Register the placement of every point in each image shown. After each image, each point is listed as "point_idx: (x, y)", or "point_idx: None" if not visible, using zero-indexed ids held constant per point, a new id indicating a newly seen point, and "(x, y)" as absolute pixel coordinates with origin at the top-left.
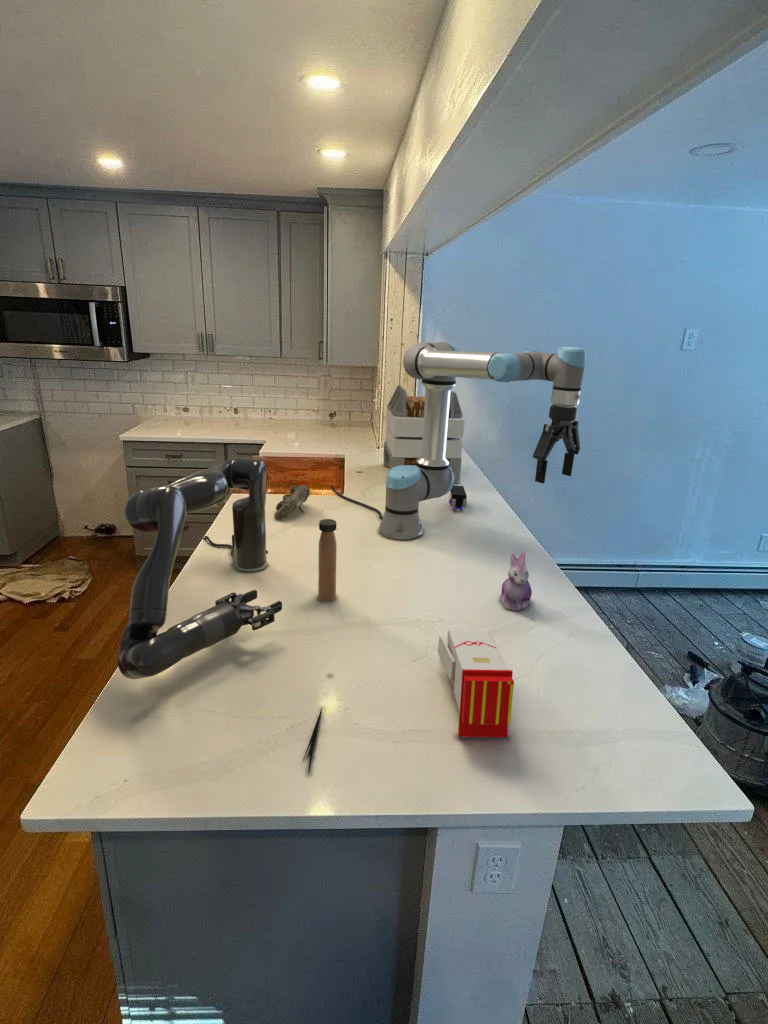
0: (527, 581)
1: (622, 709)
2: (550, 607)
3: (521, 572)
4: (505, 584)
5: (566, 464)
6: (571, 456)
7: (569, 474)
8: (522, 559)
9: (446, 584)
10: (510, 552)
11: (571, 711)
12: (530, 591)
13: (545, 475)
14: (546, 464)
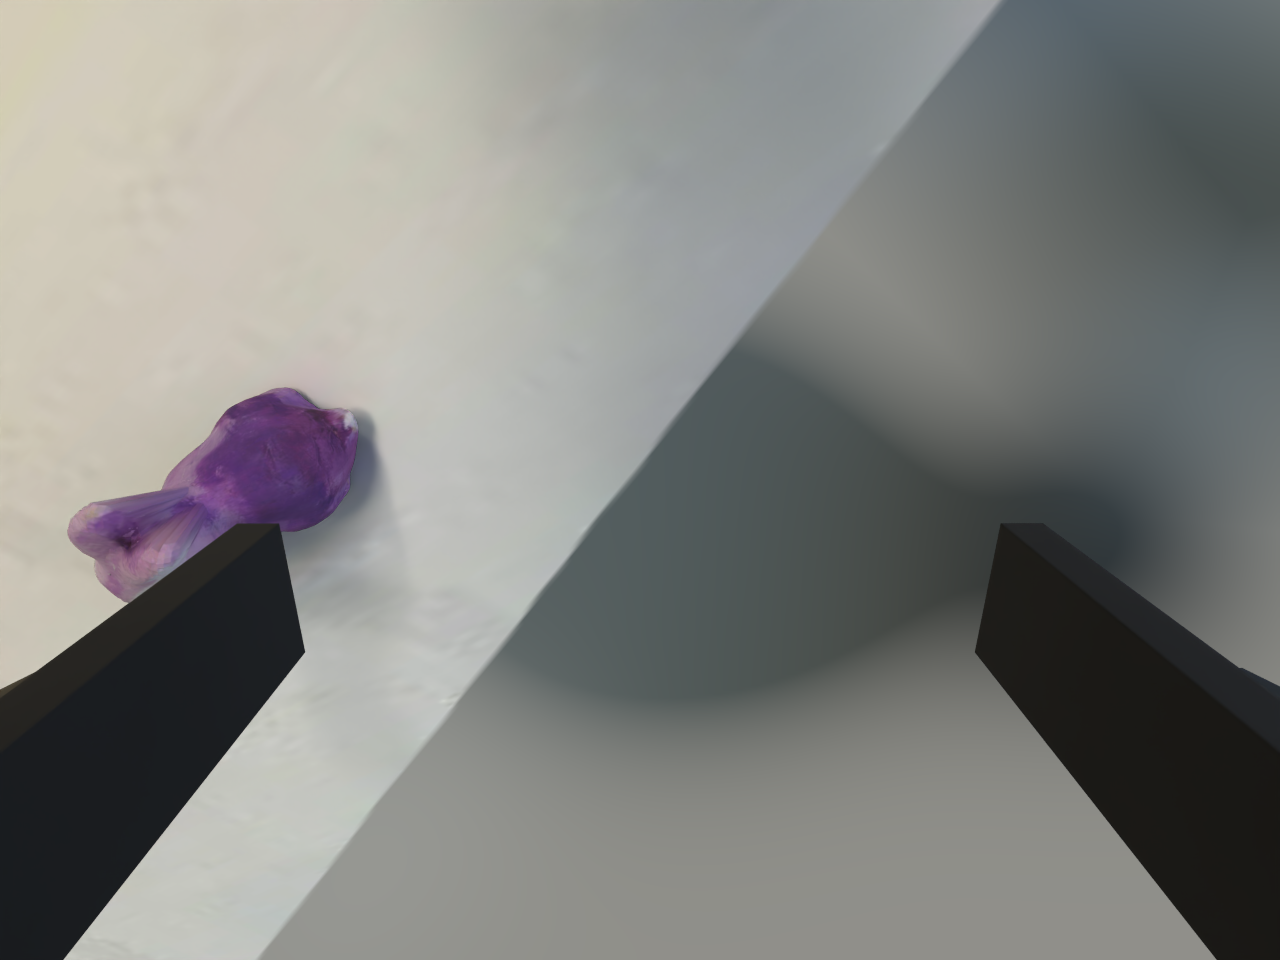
0: (290, 514)
1: (160, 915)
2: (401, 560)
3: (114, 594)
4: (192, 453)
5: (1098, 690)
6: (1234, 937)
7: (987, 662)
8: (129, 578)
9: (97, 125)
10: (84, 509)
11: None
12: (298, 530)
13: (239, 734)
14: (60, 928)
